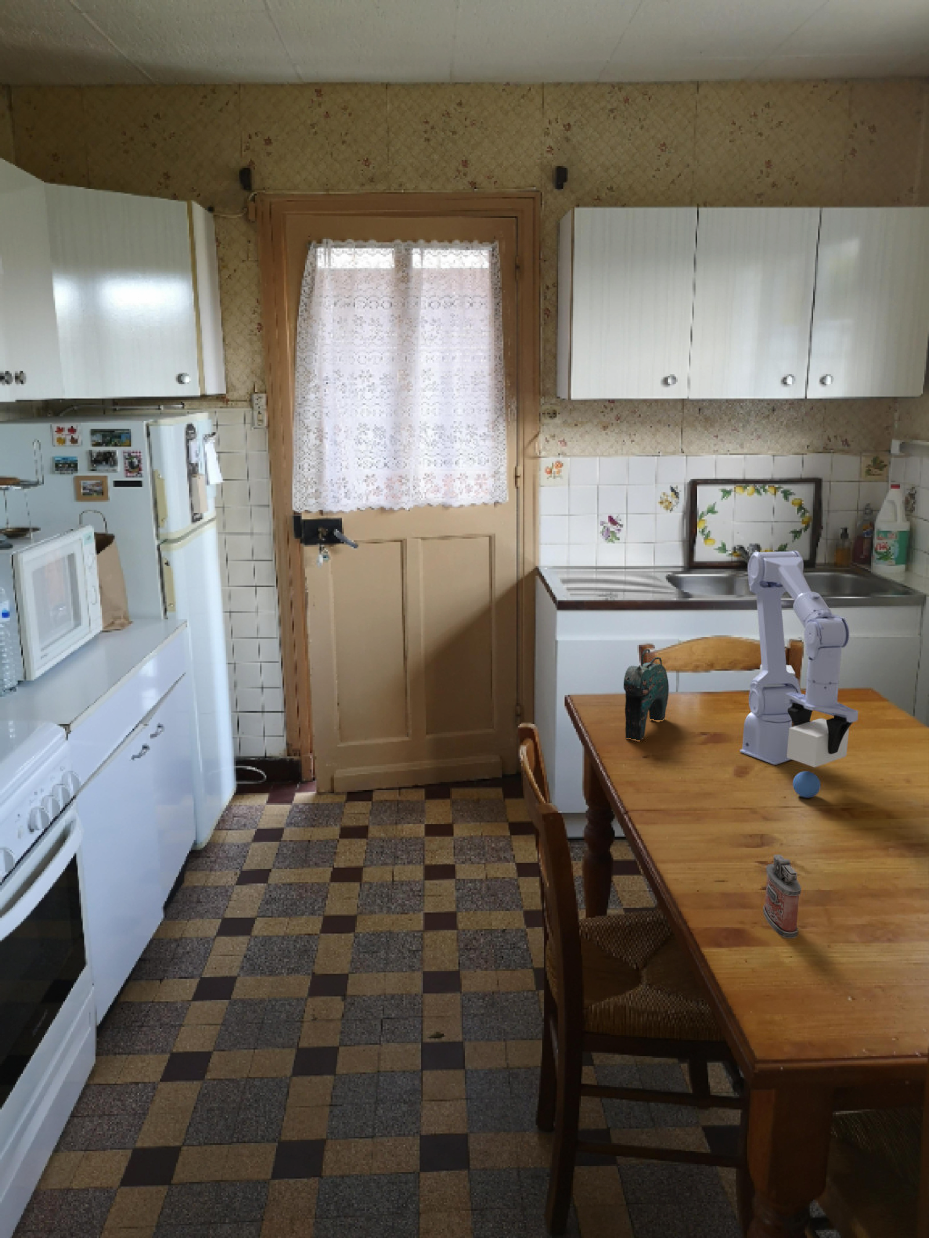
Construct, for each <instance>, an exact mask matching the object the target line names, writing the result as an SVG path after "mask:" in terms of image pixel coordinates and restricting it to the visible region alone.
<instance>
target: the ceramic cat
mask: <svg viewBox="0 0 929 1238" xmlns="http://www.w3.org/2000/svg"><path fill="white" fill-rule="evenodd" d="M646 652H647V653H648V654H650V653H651V650H650V649H649V648H646V649H644V650H643V651H642V653H641V659H640V660H641V662H640V665H630V666H628V668H626V671H625V673H624V677H623V690H624V692H625V695H624V698H625V706H624V713H625V714H624V715H625V728H624V730H625V739H626V738H631V739H636V740H641V739H642V738H645V733H646V727H647V720H648V719H649V718H650V719H654V720H663V719H664V718H665V719H666V710H667V706H668V700H669V693H670V690H669V689H670V687H669V686H670V685H669V678H668V672H667V669H666V668H665V666H664V665H663V661H662V657H660V656H656V657H654V658H652V659H651V660H650V662H644V656H645V654H646ZM656 660H658V661H659V663H655V661H656ZM648 717H649V718H648ZM665 719H664V720H665ZM641 741H642V740H641Z"/></svg>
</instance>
